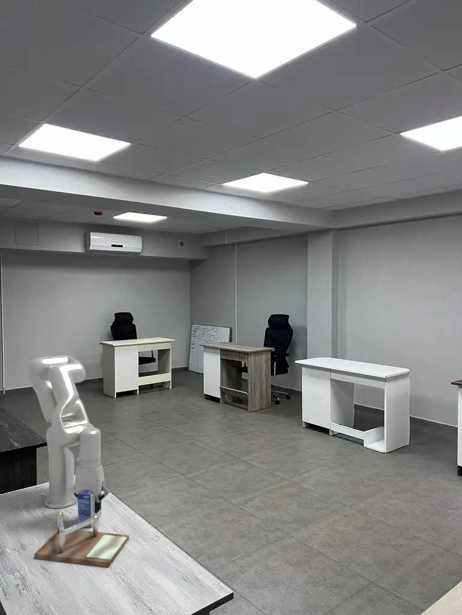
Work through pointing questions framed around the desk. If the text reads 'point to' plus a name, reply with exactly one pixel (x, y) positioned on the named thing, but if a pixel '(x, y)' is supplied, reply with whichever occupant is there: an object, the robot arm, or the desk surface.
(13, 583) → the desk surface
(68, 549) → the board
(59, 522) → the bent wire
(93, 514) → the ink cartridge box
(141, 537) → the desk surface
